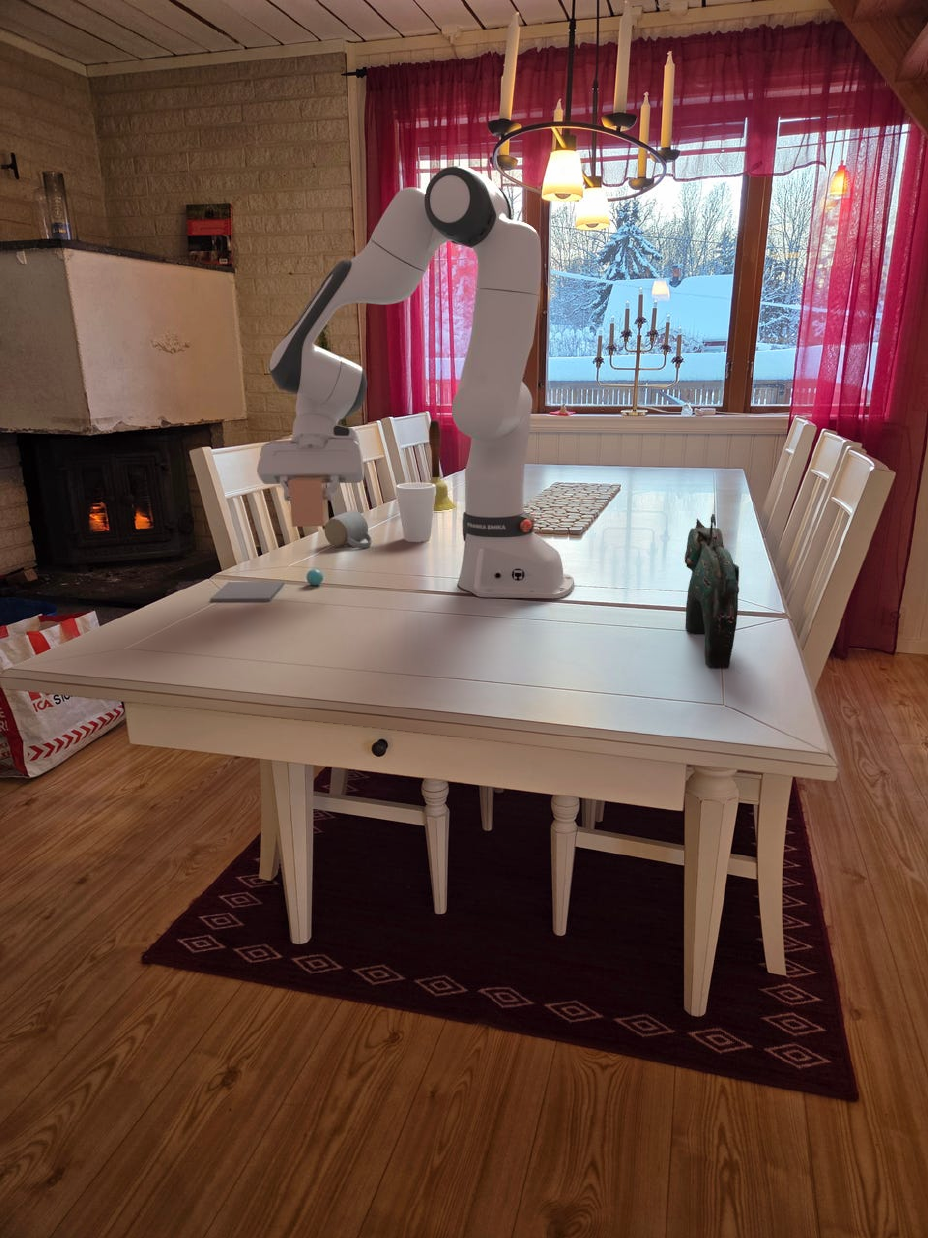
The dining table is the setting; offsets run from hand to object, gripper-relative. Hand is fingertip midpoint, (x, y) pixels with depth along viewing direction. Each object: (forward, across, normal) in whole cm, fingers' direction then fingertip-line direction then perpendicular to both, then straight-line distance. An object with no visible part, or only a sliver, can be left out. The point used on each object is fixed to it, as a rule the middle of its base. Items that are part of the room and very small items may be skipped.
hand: (308, 498), depth 150 cm
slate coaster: (+15, -12, +9) cm, 21 cm away
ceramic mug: (-12, +2, +37) cm, 39 cm away
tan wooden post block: (+3, 0, +4) cm, 5 cm away
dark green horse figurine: (+36, +67, -11) cm, 77 cm away
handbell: (-45, +19, +69) cm, 85 cm away
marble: (+12, 0, +13) cm, 17 cm away
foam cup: (-16, +17, +41) cm, 47 cm away
